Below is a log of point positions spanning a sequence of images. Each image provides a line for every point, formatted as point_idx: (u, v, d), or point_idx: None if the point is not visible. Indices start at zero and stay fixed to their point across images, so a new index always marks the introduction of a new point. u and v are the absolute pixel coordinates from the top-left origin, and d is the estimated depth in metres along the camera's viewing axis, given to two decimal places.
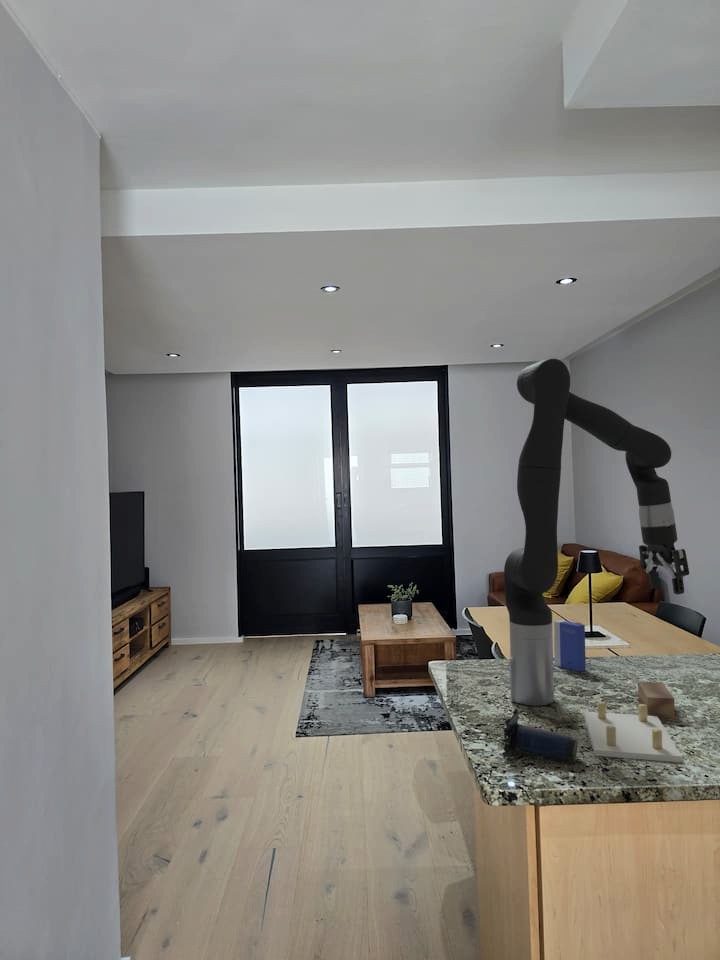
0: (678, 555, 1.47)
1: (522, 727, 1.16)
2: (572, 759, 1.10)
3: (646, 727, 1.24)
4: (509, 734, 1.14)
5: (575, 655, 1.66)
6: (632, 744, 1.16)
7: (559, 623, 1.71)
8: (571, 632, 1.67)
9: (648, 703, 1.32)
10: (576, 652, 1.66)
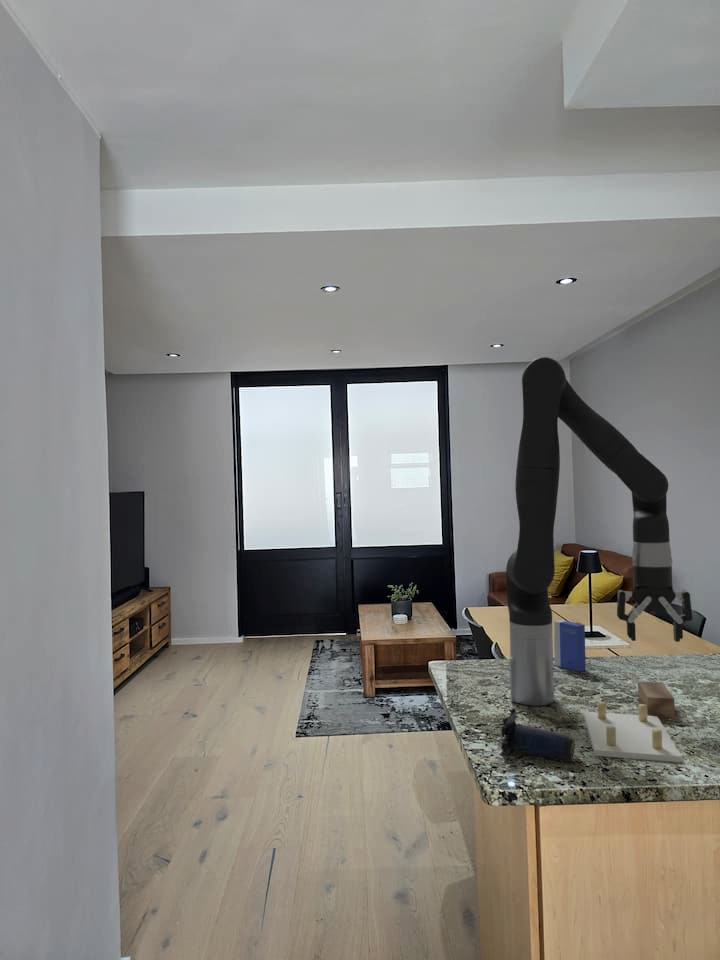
0: None
1: (520, 727, 1.16)
2: (569, 758, 1.11)
3: (646, 727, 1.24)
4: (507, 733, 1.14)
5: (575, 655, 1.66)
6: (632, 744, 1.16)
7: (559, 623, 1.71)
8: (571, 632, 1.67)
9: (648, 703, 1.32)
10: (576, 652, 1.66)
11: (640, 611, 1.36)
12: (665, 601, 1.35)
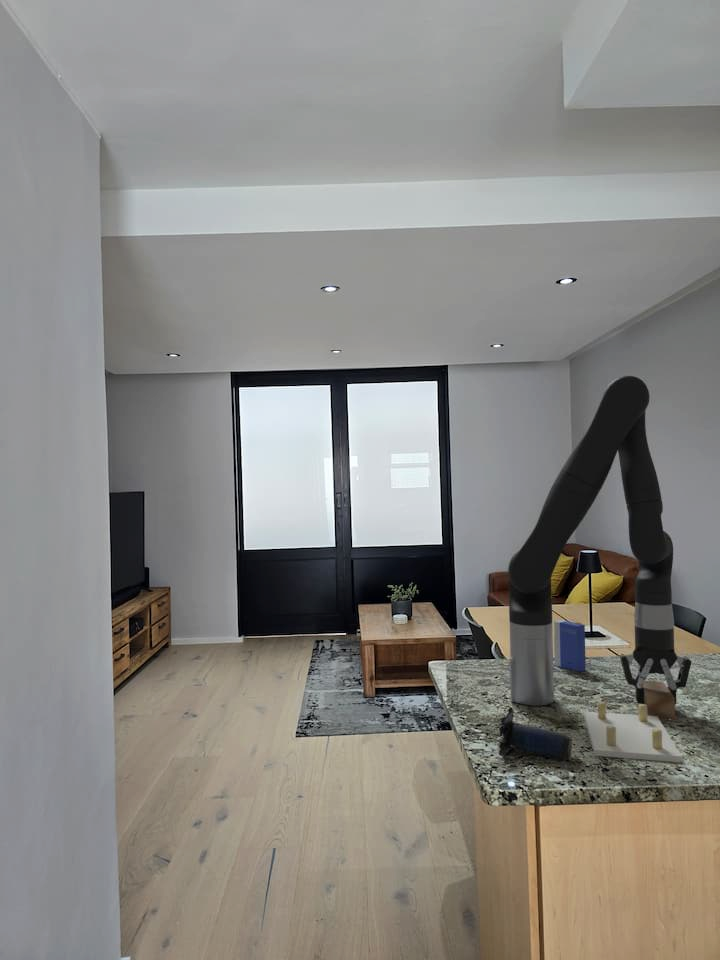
0: None
1: (517, 726, 1.16)
2: (567, 756, 1.12)
3: (646, 727, 1.24)
4: (505, 732, 1.15)
5: (575, 655, 1.66)
6: (632, 744, 1.16)
7: (559, 623, 1.71)
8: (571, 632, 1.67)
9: (648, 702, 1.32)
10: (576, 652, 1.66)
11: (646, 674, 1.36)
12: (666, 665, 1.35)
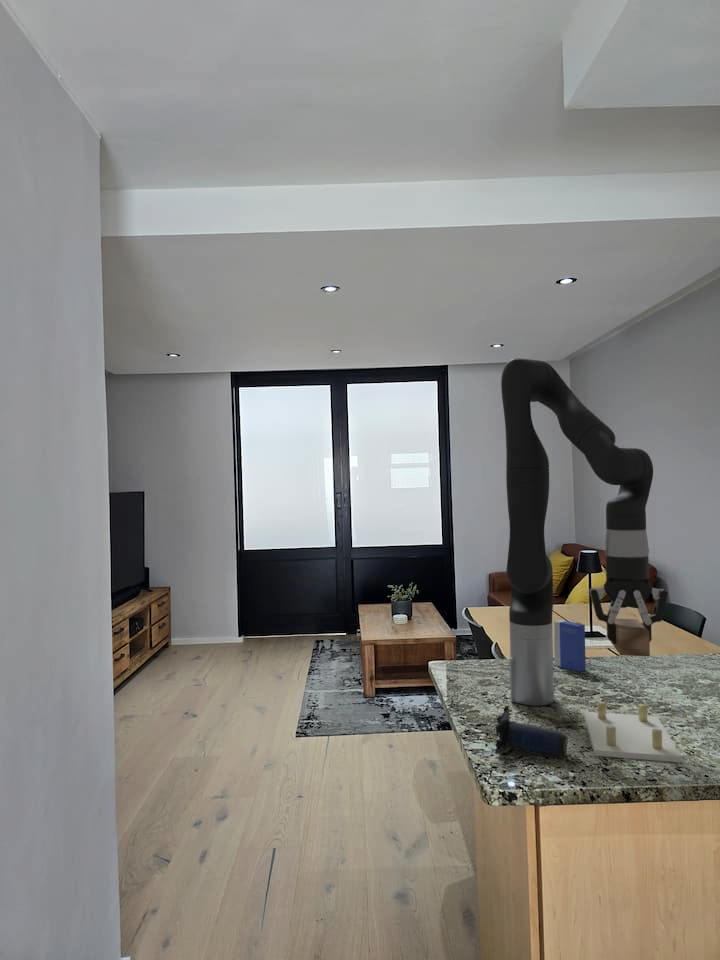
0: (590, 594, 1.26)
1: (513, 724, 1.17)
2: (563, 754, 1.12)
3: (646, 727, 1.24)
4: (501, 731, 1.15)
5: (575, 655, 1.66)
6: (632, 744, 1.16)
7: (559, 623, 1.71)
8: (571, 632, 1.67)
9: (620, 637, 1.18)
10: (576, 652, 1.66)
11: (618, 608, 1.22)
12: (640, 597, 1.21)
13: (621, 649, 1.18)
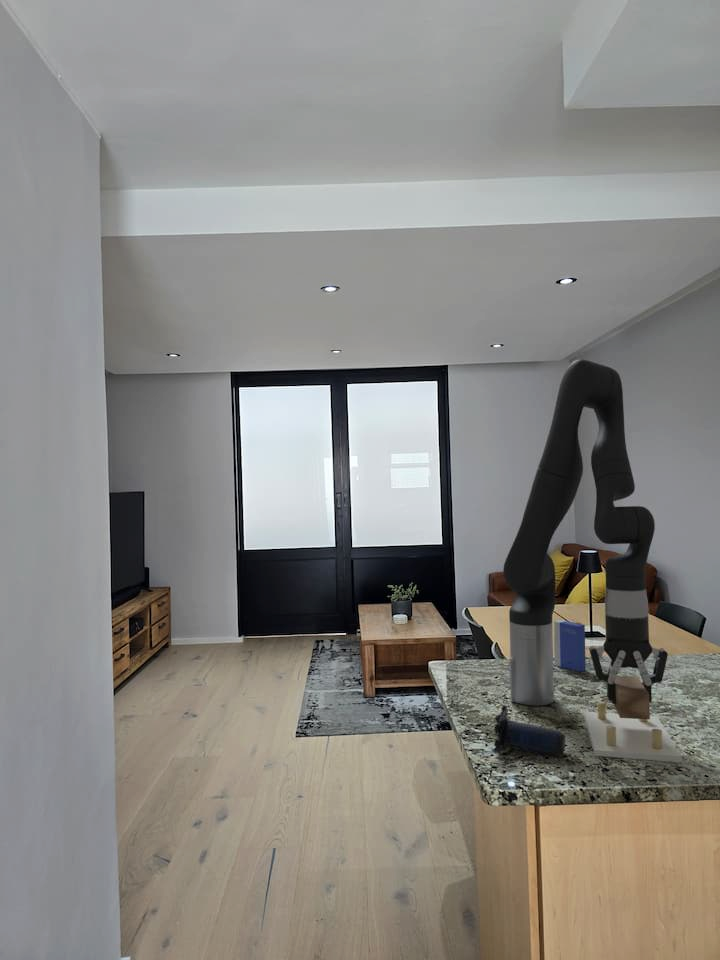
0: (590, 653, 1.25)
1: (512, 723, 1.18)
2: (561, 753, 1.13)
3: (646, 727, 1.24)
4: (500, 730, 1.16)
5: (575, 655, 1.66)
6: (632, 744, 1.16)
7: (559, 623, 1.71)
8: (571, 632, 1.67)
9: (620, 699, 1.18)
10: (576, 652, 1.66)
11: (617, 669, 1.21)
12: (640, 657, 1.20)
13: (621, 712, 1.18)
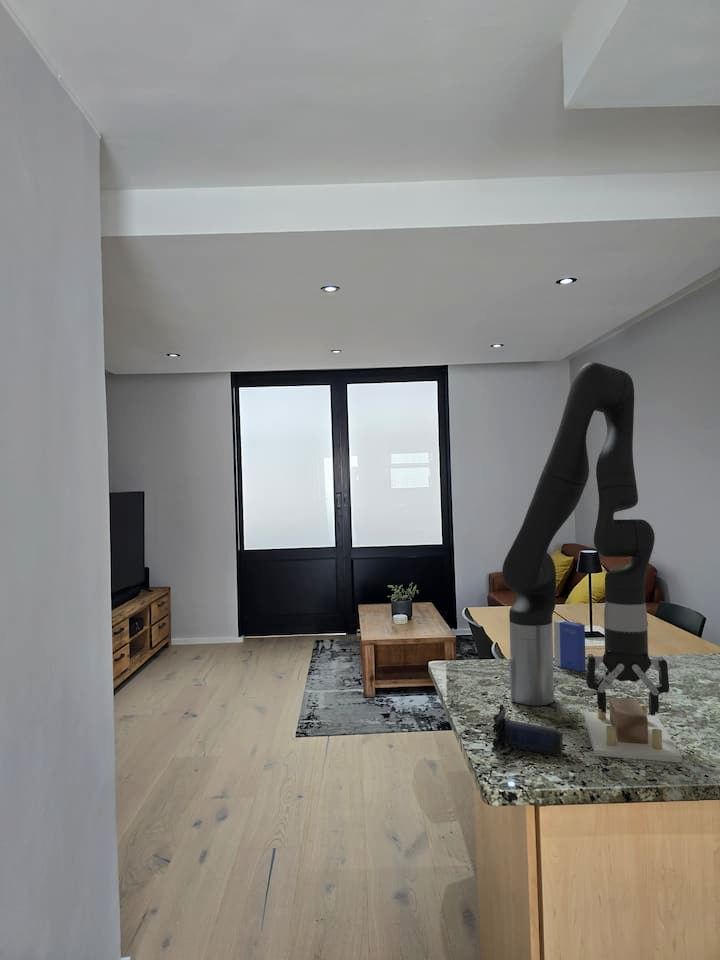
0: (587, 660, 1.25)
1: (510, 722, 1.18)
2: (559, 751, 1.14)
3: None
4: (498, 729, 1.16)
5: (575, 655, 1.66)
6: (632, 744, 1.16)
7: (559, 623, 1.71)
8: (571, 632, 1.67)
9: (618, 724, 1.18)
10: (576, 652, 1.66)
11: (611, 680, 1.21)
12: (640, 670, 1.20)
13: (619, 736, 1.17)
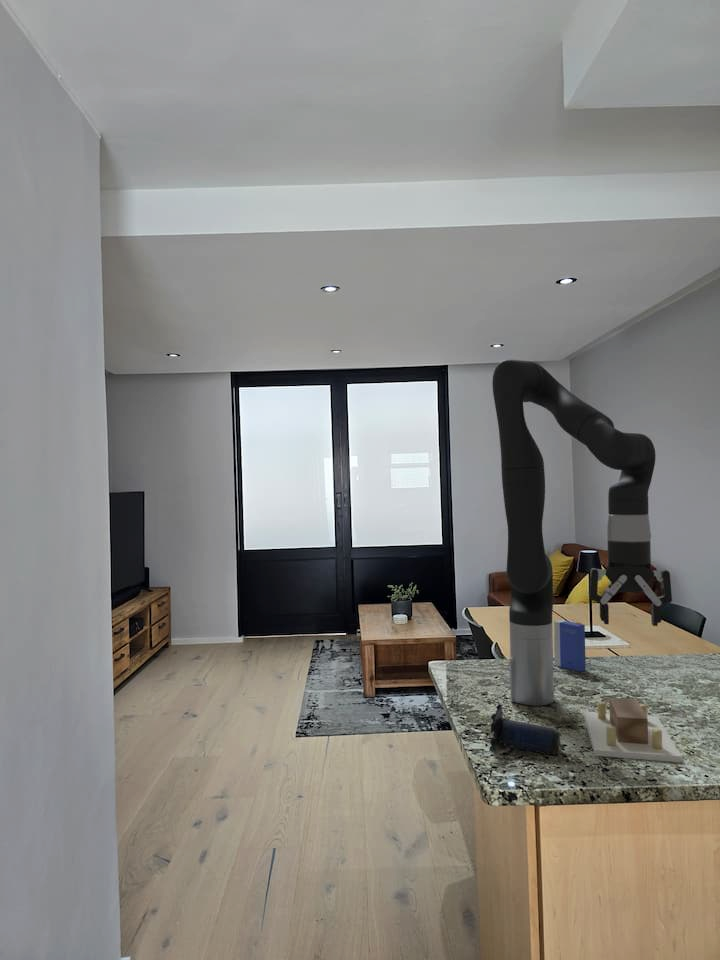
0: (590, 573, 1.26)
1: (507, 722, 1.18)
2: (556, 751, 1.14)
3: None
4: (495, 729, 1.16)
5: (575, 655, 1.66)
6: (632, 744, 1.16)
7: (559, 623, 1.71)
8: (571, 632, 1.67)
9: (618, 724, 1.18)
10: (576, 652, 1.66)
11: (614, 591, 1.22)
12: (642, 581, 1.21)
13: (619, 736, 1.17)
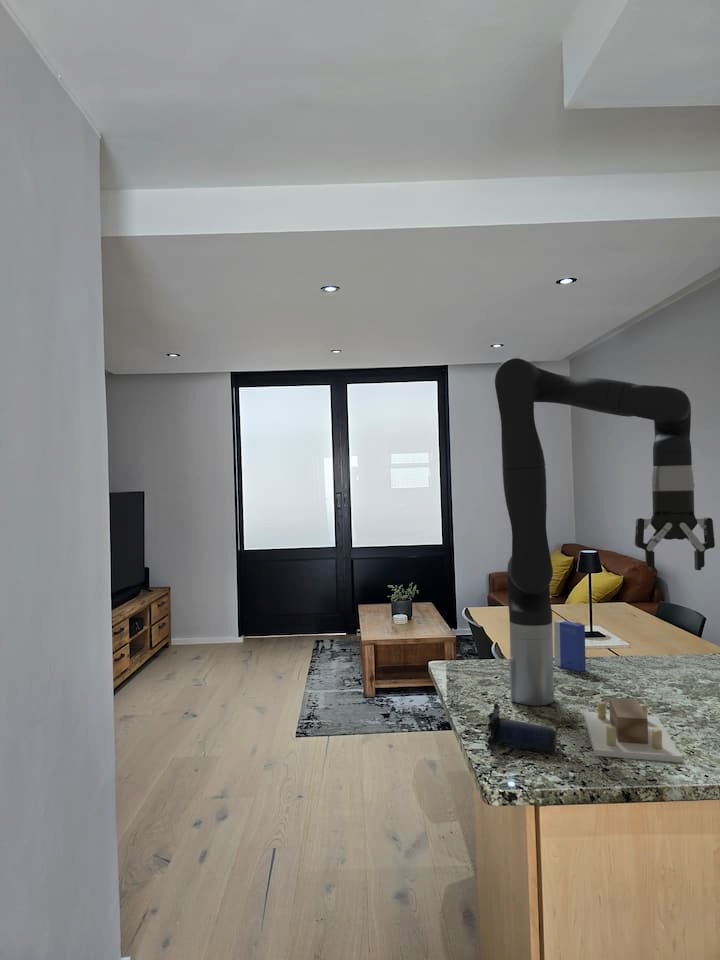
0: (636, 523, 1.33)
1: (504, 721, 1.19)
2: (553, 749, 1.15)
3: None
4: (493, 728, 1.17)
5: (575, 655, 1.66)
6: (632, 744, 1.16)
7: (559, 623, 1.71)
8: (571, 632, 1.67)
9: (618, 724, 1.18)
10: (576, 652, 1.66)
11: (660, 538, 1.30)
12: (687, 527, 1.29)
13: (619, 736, 1.17)
